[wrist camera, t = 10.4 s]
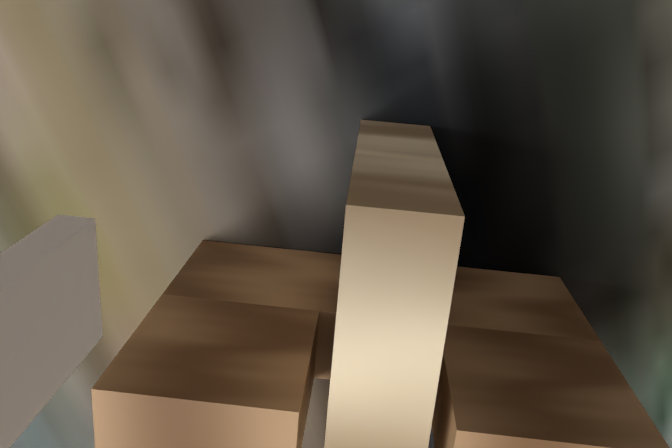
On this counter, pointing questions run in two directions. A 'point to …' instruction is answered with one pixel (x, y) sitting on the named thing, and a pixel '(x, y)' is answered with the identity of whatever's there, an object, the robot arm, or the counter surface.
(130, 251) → the counter surface
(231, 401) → the walnut board
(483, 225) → the counter surface
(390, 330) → the maple plate
